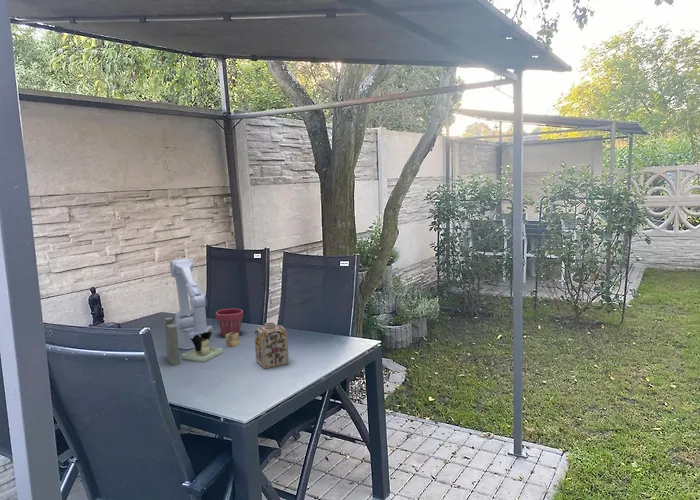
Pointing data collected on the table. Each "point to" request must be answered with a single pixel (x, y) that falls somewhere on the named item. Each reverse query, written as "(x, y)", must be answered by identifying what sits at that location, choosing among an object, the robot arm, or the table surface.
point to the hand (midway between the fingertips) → (202, 349)
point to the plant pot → (229, 320)
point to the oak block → (232, 339)
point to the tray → (200, 357)
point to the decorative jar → (271, 345)
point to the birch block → (203, 347)
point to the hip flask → (171, 341)
